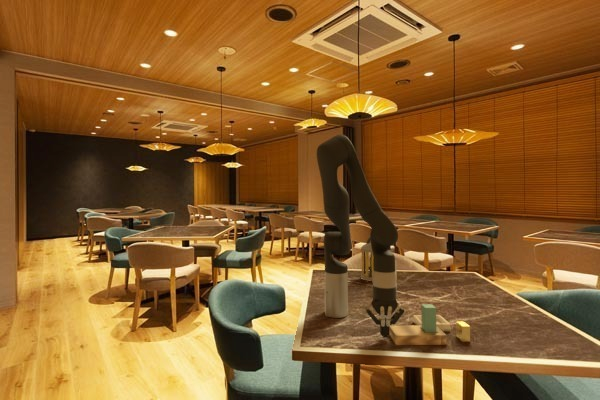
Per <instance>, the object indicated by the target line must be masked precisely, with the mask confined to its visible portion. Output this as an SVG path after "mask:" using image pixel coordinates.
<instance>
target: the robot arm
mask: <svg viewBox="0 0 600 400" xmlns="http://www.w3.org/2000/svg"><path fill="white" fill-rule="evenodd" d="M316 161H317V166H318V170H319V175H320V180H321V188H322V197H323V199H322V201H323V210H324V213H325V216H326V217H327V218H328V219H329V220H330V221H331V222H332V223H333V224H334V226H335V227H337V229H338V230H339V231H327V232H325V233H324V235H323V250H324V251H323V252H324V290H323V293H324V294H323V295H324V315H325V317H329V318H333V319H334V318H336V319H339V318H346V317H348V316H349V291H348V290H349V289H348V288H349V287H348V286H349V282H348V281H349V279H348V278H349V276H348V275H349V273H348V270H349V269H348V264H347V263H345V262H342V261H340V260H338V259H336V258H335V257H334V255H336V256H344V255H345V256H346V255H349V254H350V253H351V251H352V237H351V229H350V228H351V227H350V195H349V192H348V191H347V189H346V188H345V186H343V185H342V184H341V183H340V182H339V178H338V170H339V167H341V166H342V165H344V166H345V168H346V170H347V173H348V175H349V179H350V192H351V199H352V202H353V205H354V206H355V208H356V210H357V212H358V214H359V216H360V217H361V218H362V219H363V221H364V222H365V223H366V224H368V225H369V227H370V229H371V231H370V233H369V234H370V235H369V236H370V243H371V246H372V252H373V257H374V259H373V280H372V282H371V283H372V300H371V305H369V306H366V307H365V308H364V309H365V312H366V313H367V314H368V316H369V317H370V318H371V319H372V320H373V322H374V323H375V324H376V325H377V326H379V333H380V336H382V338H389V337H390V335H389V334H390V329H389V327H390V326H395V325H396V323H397V322H398V321H399V319H401V318H402V316H403V314H404V313H405V309H404V308H403V307H402V306H400V305H399V304H398V302H397V290H396V273H395V261H396V256H395V254H394V253H393V252H392V249H391V247H392V246H394V245H396V243H397V242H398V240H399V232H398V230H397V227H396V225H395V223H394V222H393V221H392V219H390V217H389V216H388V215H387V214H386V213H385V212H384V210H383V209H382V206H381V205H380V204H379V202H378V200H377V198H376V196H375V195H374V193H373V191H372V189H371V187H370V185H369V183H368V180H367V178H366V175H365V173H364V170H363V167H362V164H361V162H360V159H359V157H358V154H357V151H356V149H355V147H354V145H353V143H352V141H351V140H350V139H349V137H348V136H346V135H345V134H337V135H334V136H332V137H331V138H329V139H327V140H326V141H325V140H324V142H322V143H321V144H319V145H318V146H317V148H316ZM374 311H375V312H376V313H377V315H378V318H377V317H376V315H375V314H374ZM393 313H394V314H393Z"/></svg>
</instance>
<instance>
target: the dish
mask: <svg viewBox="0 0 600 400" xmlns="http://www.w3.org/2000/svg"><path fill="white" fill-rule="evenodd" d="M412 316H413V317H412V319H413V320H412V322H413V323H414V324H415V325H422V317H421V314H413V315H412ZM436 326H437V327H438V328H439V329H440V330H441V331H443V332H451V331H452V329H451V328H452V325H451V323H450V322H449V321H448V320H447V319H446V318H444V317H443V316H442V315H441V314H436Z"/></svg>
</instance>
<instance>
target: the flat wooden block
mask: <svg viewBox="0 0 600 400" xmlns="http://www.w3.org/2000/svg"><path fill="white" fill-rule="evenodd" d="M389 329H390V334H389V337H390V338H391V340H392V341H393V342H394V344H395V345H396V346H413V345H414V346H418V345H419V346H426V345H427V346H429V345H430V346H431V345H432V346H433V345H434V346H435V345H437V346H438V345H443V346H445V345H447V334H446V333H445V331H441V330H440V329H439V328H438V327H437V326H436V333H424V332H423V331H422V325H416V324H415V325H412V324H411V325H410V324H409V325H408V324H407V325H406V324H405V325H404V324H403V325H402V324H401V325H390V327H389Z"/></svg>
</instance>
